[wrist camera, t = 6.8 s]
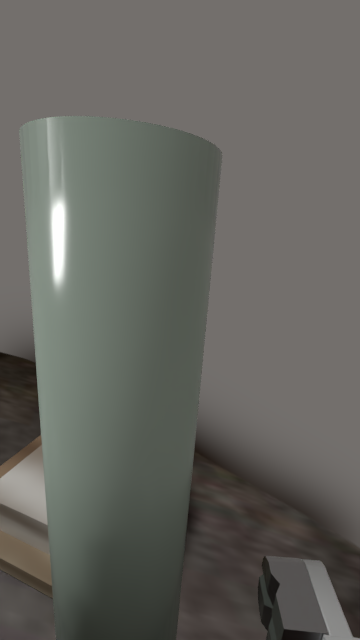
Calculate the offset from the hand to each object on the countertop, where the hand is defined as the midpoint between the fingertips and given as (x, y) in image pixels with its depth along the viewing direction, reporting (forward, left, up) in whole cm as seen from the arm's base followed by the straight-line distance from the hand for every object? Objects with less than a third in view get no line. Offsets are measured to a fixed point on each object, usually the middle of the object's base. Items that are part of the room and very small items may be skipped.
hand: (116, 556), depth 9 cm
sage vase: (+2, +1, -15) cm, 15 cm away
